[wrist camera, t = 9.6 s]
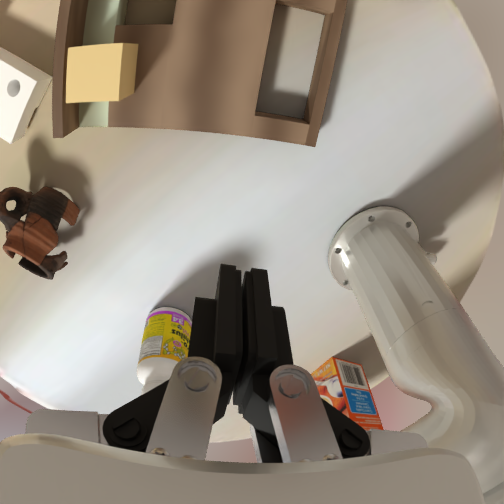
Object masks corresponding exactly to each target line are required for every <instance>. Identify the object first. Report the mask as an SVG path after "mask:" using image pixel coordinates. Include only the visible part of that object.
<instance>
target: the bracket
mask: <svg viewBox="0 0 504 504" xmlns="http://www.w3.org/2000/svg"><path fill="white" fill-rule="evenodd" d="M52 78H53V77H52V76H50V75H48V74H47V73H45V72H43V71H42V70H40V69H38V68H36V67H35V66H33V65H31V64H30V63H28V62H26V61H24V60H23V59H21V58H19V57H18V56H16V55H14V54H12V53H11V52H9V51H7V50H5V49H3V48H2V47H0V137H1V138H2V139H4V140H5V141H7V142H8V143H10V144H12V143H14V142H15V141H17V140H19V139H20V138H22V137H24V134H25V131H26V129H27V127H28V124H29V122H30V119H31V117H32V115H33V112H34V110H35V108H37V107H39V105H40V102H41V100H42V98H43V96H44V94H45V92H46V90H47V88H48V86H49V84H50V82H51V80H52Z"/></svg>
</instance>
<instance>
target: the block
mask: <svg viewBox="0 0 504 504" xmlns="http://www.w3.org/2000/svg"><path fill="white" fill-rule="evenodd" d="M138 45H139V44H131V43H113V44H99V45H88V46H78V47H70V48H68V57H67V75H66V103H78V102H101V101H120V100H122V99H124V98H126V97H128V96H129V95H131V94H133V93H134V88H135V75H136V64H137V54H138Z"/></svg>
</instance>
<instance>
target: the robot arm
mask: <svg viewBox="0 0 504 504" xmlns="http://www.w3.org/2000/svg"><path fill="white" fill-rule="evenodd" d="M436 261H437V256H436V255H435V254H430V253H427V254H426V253H425V252H424V250H423V249H422V248H421V246H420V245H419V233H418V229H417V226H416V224H415V223H414V221H413V220H412V219H411V218H410V216H409V215H407V214H406V213H405V212H404V211H402V210H400V209H397V208H394V207H389V206H383V207H375V208H370V209H368V210H365V211H363V212H361V213H359V214H357V215H356V216H354V217H352V218H351V219H350V220H349V221H347V222H346V223H345V224H344V225H343V226H342V227H341V229H340V230H339V231H338V232H337V234H336V235H335V237H334V239H333V240H332V243H331V245H330V248H329V253H328V265H329V268H330V271H331V273H332V276H333V278H334V279H335V280H336V282H337V283H338V284H339V285H341V286H342V287H344V288H346V289H348V290H352V291H353V292H354V294H355V296H356V299H357V301H358V303H359V305H360V307H361V310H362V312H363V314H364V316H365V319H366V321H367V323H368V326H369V328H370V330H371V333H372V335H373V337H374V340H375V342H376V344H377V347H378V349H379V352H380V354H381V356H382V359H383V361H384V364H385V366H386V368H387V371H388V373H389V376H390V377H391V380H392V381H393V383H394V384H395V386H396V387H397V388H398V389H399V390H401V391H402V392H403V393H405V394H407V395H409V396H411V397H414V398H417V399H420V400H424V401H427V402H429V403H430V404H431V406H432V409H431V410H430V412H429V413H428V414H426V415H425V416H423V417H422V418H420V419H419V420H418V421H417V422H415V423H413V424H411V425H410V426H408V427H406V428H405V429H403V430H401V431H389V430H380V429H370V430H369V431H367V430H364V429H363V428H362V427H361V426H360V425H358V424H357V423H356V422H354V421H353V420H351V419H350V418H349V417H347V416H346V415H344V414H343V413H342V412H340V411H339V410H337V409H336V408H335V407H333V406H332V405H331V404H329V403H328V402H327V401H325V400H324V399H323V398H321V397H320V394H319V391H318V389H317V386H316V383H315V381H314V379H313V377H312V375H311V374H310V373H309V372H308V371H307V370H305V369H303V368H302V367H299V366H296V365H293V359H292V352H291V346H290V340H289V333H288V327H287V321H286V315H285V310H284V308H283V307H276V306H271V297H270V289H269V281H268V273H267V270H264V269H256V268H251V271H250V272H248V271H245V274H244V279H243V283H242V285H241V270H236V266H233V265H226V264H221V265H220V271H219V277H218V284H217V290H216V296H215V299H207V298H199V297H196V298H195V305H194V312H193V319H192V326H191V334H190V341H189V349H188V357H187V358H185V359H182V360H181V361H179V362H178V363H177V364H176V365H175V367H174V369H173V371H172V374H171V377H170V379H169V380H167V381H165V382H163V383H162V384H160V385H158V386H157V387H155V388H153V389H152V390H150V391H148V392H146V393H145V394H143V395H141V396H139V397H138V398H136V399H134V400H132V401H131V402H129V403H127V404H125V405H123V406H122V407H120V408H118V409H116V410H114V411H113V412H111V413H110V414H98V412H87V411H65V410H51V409H39V410H36V411H35V412H33V413H31V415H30V416H29V417H28V420H27V423H26V433H25V434H19V435H15V436H11V437H8V438H5V439H4V440H2V441H1V442H0V504H504V367H503V366H502V364H501V363H500V361H499V360H498V359H497V358H496V356H495V355H494V353H493V352H492V350H491V349H490V347H489V346H488V344H487V343H486V341H485V340H484V339H483V337H482V335H481V334H480V333H479V331H478V329H477V328H476V326H475V325H474V323H473V322H472V320H471V319H470V317H469V315H468V314H467V313H466V312H465V310H464V309H463V307H462V306H461V304H460V303H459V301H458V300H457V298H456V297H455V295H454V294H453V292H452V291H451V290H450V288H449V287H448V285H447V284H446V283H445V281H444V280H443V278H442V277H441V276H440V274H439V273H438V272H437V270H436V269H435V268H434V266H433V265H432V264H435V263H436ZM232 392H233V405H238V410H239V413H240V414H243V418H244V419H245V420H247V421H248V422H249V423H250V431H251V436H252V441H253V445H254V450H255V454H256V458H257V463H238V462H219V461H206V460H205V458H206V453H207V448H208V444H209V439H210V434H211V430H212V425H213V424H214V423H215V422H217V421H218V420H219V419H221V418H222V417H223V416H224V414H225V411H226V407H227V404H229V402H230V399H231V395H232Z"/></svg>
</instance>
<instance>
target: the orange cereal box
mask: <svg viewBox="0 0 504 504" xmlns="http://www.w3.org/2000/svg"><path fill="white" fill-rule="evenodd" d="M311 375H312V377H313V379H314V381H315V383H316V386H317V389H318V391H319V394H320V397H321V398H323V399H324V400H325V401H327V402H328V403H329V404H331V405H332V406H333V407H335V408H336V409H337V410H339V411H340V412H342V413H343V414H344V415H346V416H347V417H349V418H350V419H351V420H353V421H354V422H356V423H357V424H358V425H360V426H361V427H362V428H363V429H364V430H367V431H369V430H370V429H380V430H383V427H382V423H381V420H380V417H379V414H378V411H377V408H376V405H375V402H374V399H373V396H372V393H371V390H370V387H369V384H368V382H367V379H366V376H365V373H364V370H363V367H362V365H360V364H357V363H353V362H349V361H345V360H342V359H338V358H334V357H331V358H330V359H329V360H327V361H326V362H325V363H324V364H323V365H321V366H320V367H319V368H318V369H317V370H315V371H314V372H313V373H312V374H311Z"/></svg>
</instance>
